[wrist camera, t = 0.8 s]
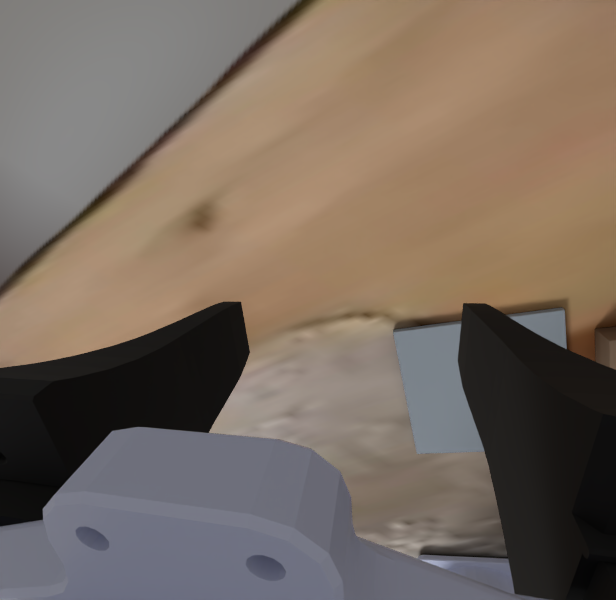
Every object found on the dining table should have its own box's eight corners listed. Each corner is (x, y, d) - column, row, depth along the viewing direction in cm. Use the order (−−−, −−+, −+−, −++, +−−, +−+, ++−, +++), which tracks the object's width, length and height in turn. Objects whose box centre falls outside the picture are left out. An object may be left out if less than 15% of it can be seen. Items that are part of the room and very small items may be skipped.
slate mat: (568, 443, 22) (571, 448, 22) (416, 449, 25) (416, 453, 24) (561, 307, 20) (564, 309, 19) (393, 329, 22) (393, 332, 22)
